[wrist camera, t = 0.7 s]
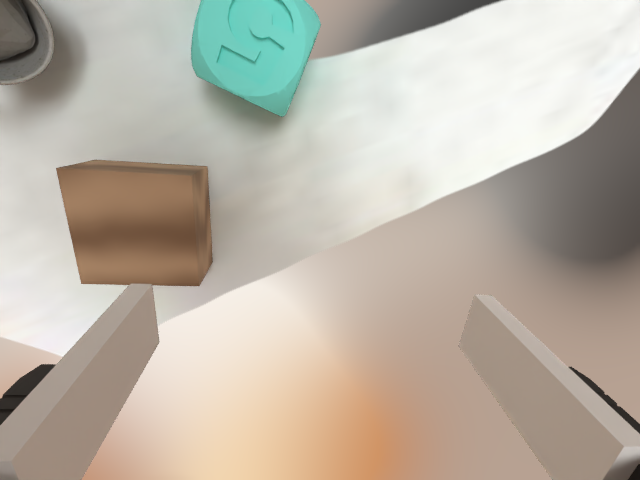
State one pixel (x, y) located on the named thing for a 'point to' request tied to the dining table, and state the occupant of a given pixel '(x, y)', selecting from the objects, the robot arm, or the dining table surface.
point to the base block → (138, 222)
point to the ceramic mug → (23, 41)
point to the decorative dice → (254, 48)
